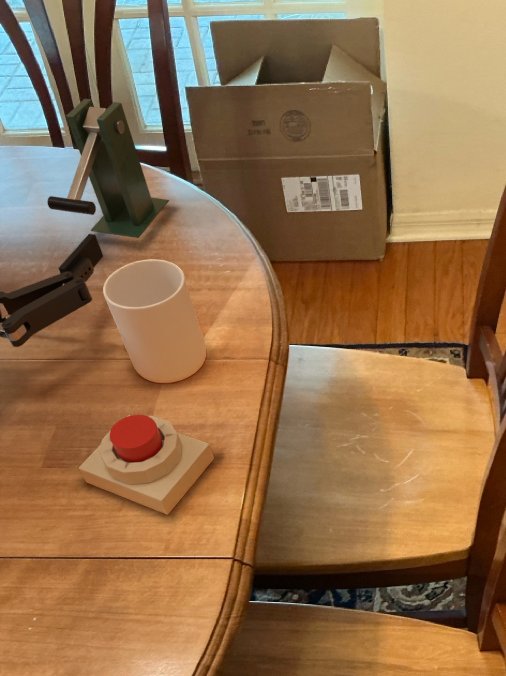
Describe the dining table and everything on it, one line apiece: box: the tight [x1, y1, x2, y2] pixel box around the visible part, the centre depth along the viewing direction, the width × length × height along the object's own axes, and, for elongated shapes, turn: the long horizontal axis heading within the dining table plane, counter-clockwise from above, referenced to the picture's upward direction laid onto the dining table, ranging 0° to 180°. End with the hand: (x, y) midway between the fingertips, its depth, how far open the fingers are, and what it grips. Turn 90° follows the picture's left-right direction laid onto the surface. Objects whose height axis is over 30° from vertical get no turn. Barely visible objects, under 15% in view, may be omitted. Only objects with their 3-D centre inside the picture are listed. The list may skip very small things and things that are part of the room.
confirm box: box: [78, 414, 215, 516], centre depth 75 cm, size 10×8×4 cm
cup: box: [102, 258, 207, 384], centre depth 84 cm, size 8×12×10 cm
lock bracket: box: [65, 98, 170, 239], centre depth 97 cm, size 9×7×15 cm
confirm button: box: [109, 414, 163, 463], centre depth 73 cm, size 4×4×2 cm
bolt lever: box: [47, 106, 107, 216], centre depth 92 cm, size 13×6×2 cm, turn 164°
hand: (43, 236), depth 87 cm, fingers open, 13 cm apart
